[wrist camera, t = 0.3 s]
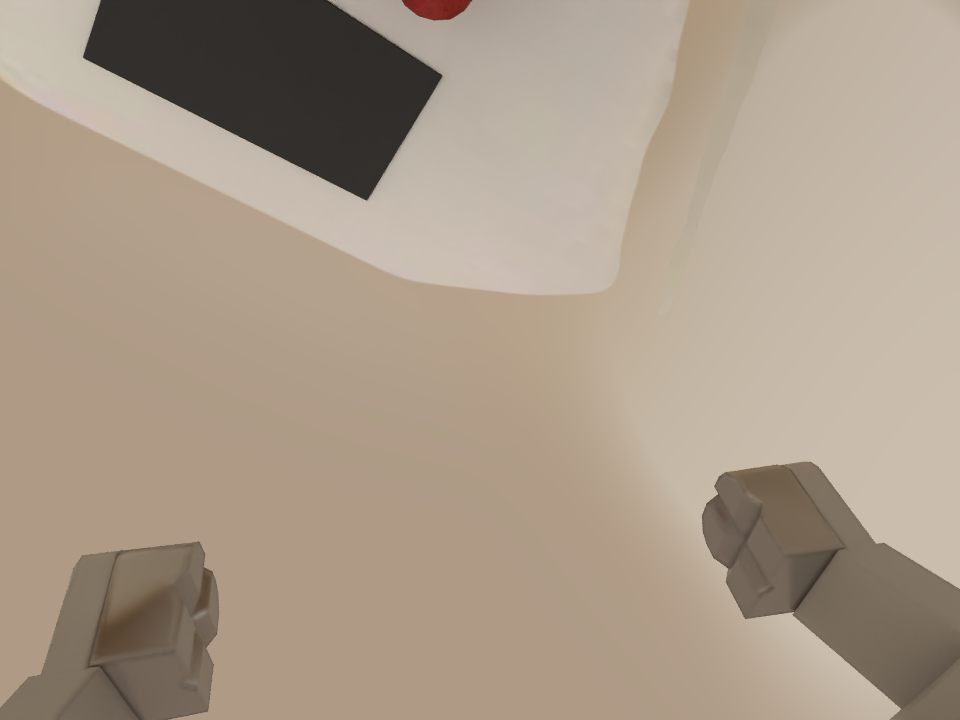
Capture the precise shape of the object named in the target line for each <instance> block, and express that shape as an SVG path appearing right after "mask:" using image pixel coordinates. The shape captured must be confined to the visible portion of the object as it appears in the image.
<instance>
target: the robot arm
mask: <svg viewBox="0 0 960 720" xmlns="http://www.w3.org/2000/svg"><path fill="white" fill-rule="evenodd" d="M714 487H715V488H716V490H717V492H718V495H717V496H715V497H714V498H713V499H712V500H710V501H709V502H708V503H707V504H706V507H705V510H704V512H703V515H702V524H703V534H704V537H705V540H706V544H707V546H708V548H709V550H710V552H711V554H712V556H713V558H714V559H716V560H717V561H719V562H720V563H721V564H723V565H724V566H726V567H727V568H728V572H727V578H726V583H727V585H728V587H729V589H730V591H731V593H732V595H733V597H734V598H735V600H736V602H737V604H738V606H739V608H740V610H741V612H742V614H743V615H744V617H745V619H748V618H755V617H762V616H769V615H776V614H783V613H789V612H794V613H793V616H794V617H796V618H797V619H798V620H799V621H800V622H801V623H803V624H804V625H805V626H806V627H807V628H808V629H810V630H811V631H812V632H813V633H814V634H815V635H816V636H818V637H819V638H820V639H821V640H822V641H823V642H825V643H826V644H827V645H828V646H829V647H830V648H831V649H833V650H834V651H835V652H836V653H837V654H839V655H840V656H841V657H842V658H843V659H844V660H845V661H847V662H848V663H849V664H850V665H851V666H852V667H854V668H855V669H856V670H857V671H858V672H859V673H860V674H862V675H863V676H864V677H865V678H866V679H867V680H869V681H870V682H871V683H872V684H873V685H874V686H875V687H877V688H878V689H879V690H880V691H882V693H884V694H885V695H886V696H887V697H888V698H889V699H891V700H892V701H893V702H894V703H895V704H896V705H898V706H899V707H900V708H901V710H900V711H899V712H898V713H897V714H896V715H894V716H893V717H892V718H891V719H890V720H960V589H959V588H957V587H955V586H954V585H952V584H950V583H949V582H947V581H945V580H944V579H942V578H940V577H939V576H937V575H936V574H934V573H932V572H931V571H929V570H927V569H926V568H924V567H923V566H921V565H919V564H918V563H916V562H914V561H913V560H911V559H910V558H908V557H906V556H904V555H903V554H901V553H900V552H898V551H896V550H895V549H893V548H891V547H890V546H888V545H887V544H885V543H881V544H876V543H875V542H874V541H873V539H872V538H871V537H870V535H869V534H868V532H867V531H866V530H865V528H864V527H863V526H862V525H861V523H860V522H859V520H858V519H857V518H856V517H855V515H854V514H853V513H852V511H851V510H850V508H849V507H848V506H847V504H846V503H845V502H844V500H843V499H842V498H841V496H840V495H839V494H838V492H837V491H836V490H835V489H834V487H833V486H832V484H831V483H830V482H829V480H828V479H827V478H826V476H825V475H824V473H823V472H822V471H821V469H819V467H818V466H816V465H815V464H813V463H812V462H799V463H792V464H785V465H772V466H765V467H759V468H751V469H745V470H738V471H731V472H726V473H724V474H722V475H721V476H719V477H718V480H717V482H716V484H715V486H714ZM204 559H205V553H204V551H203V548H202V546H201V544H200V542H192V543H183V544H175V545H166V546H158V547H149V548H142V549H132V550H120V551H113V552H105V553H98V554H90V555H83V556H81V558H80V560H79V561H78V562H77V564H76V566H75V567H74V568H73V572H72V575H71V578H70V582H69V585H68V588H67V591H66V595H65V598H64V601H63V605H62V608H61V611H60V614H59V618H58V621H57V624H56V627H55V631H54V634H53V637H52V640H51V644H50V647H49V650H48V653H47V657H46V660H45V663H44V667H43V670H42V673H41V675H38V676H32V677H28V678H27V680H26V681H25V682H24V683H23V684H22V685H21V686H20V687H19V688H18V689H17V690H16V691H15V692H14V694H13V695H12V696H11V697H10V698H9V699H8V700H7V701H6V702H5V703H4V704H3V706H2V707H1V708H0V720H168V719H172V718H178V717H183V716H188V715H193V714H198V713H202V712H207V711H208V707H209V699H210V691H211V682H212V674H213V665H214V664H213V662H212V660H211V658H210V656H209V653H208V651H207V649H206V647H207V646H208V645H209V643H210V642H211V641H212V640H213V638H214V637H215V636H216V635H217V629H218V618H219V602H218V601H219V600H218V590H217V584H216V580H215V577H214V575H213V572H212V571H210V570H208V569H206V568H204Z"/></svg>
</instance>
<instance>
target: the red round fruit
mask: <svg viewBox="0 0 960 720" xmlns="http://www.w3.org/2000/svg"><path fill="white" fill-rule="evenodd" d="M402 1H403V3H404V5H405V6H406V7H408V8H409V9H410V10H411V11H413V12H414V13H415V14H416V15H418V16H420V17H423V18H427V19H431V20H449V19H452V18H453V17H455V16H457V15H458V14H460V13H461V12H463V11H465V9H466V8H467V6H468V5H469V4H470V2H471V1H472V0H402Z"/></svg>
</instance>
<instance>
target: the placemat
mask: <svg viewBox="0 0 960 720" xmlns="http://www.w3.org/2000/svg"><path fill="white" fill-rule="evenodd" d="M83 58H84V59H86V60H88V61H90V62H92V63H94V64H96V65H98V66H100V67H102V68H104V69H106V70H108V71H110V72H112V73H114V74H116V75H118V76H120V77H122V78H124V79H126V80H128V81H130V82H132V83H134V84H136V85H138V86H140V87H142V88H144V89H146V90H148V91H150V92H152V93H154V94H156V95H158V96H160V97H162V98H164V99H166V100H168V101H170V102H172V103H174V104H176V105H178V106H180V107H182V108H184V109H186V110H188V111H190V112H192V113H194V114H196V115H198V116H200V117H202V118H204V119H206V120H208V121H210V122H212V123H214V124H216V125H218V126H220V127H222V128H224V129H225V130H227V131H229V132H231V133H233V134H235V135H237V136H239V137H241V138H243V139H245V140H247V141H249V142H251V143H253V144H255V145H257V146H259V147H261V148H263V149H265V150H267V151H269V152H271V153H273V154H275V155H277V156H279V157H281V158H283V159H285V160H287V161H289V162H291V163H293V164H295V165H297V166H299V167H301V168H303V169H305V170H307V171H309V172H311V173H313V174H315V175H317V176H319V177H321V178H323V179H325V180H327V181H329V182H331V183H333V184H335V185H337V186H339V187H341V188H343V189H345V190H347V191H349V192H351V193H353V194H355V195H357V196H359V197H361V198H363V199H365V200H368V198H369V196H370V195H371V193H372V192H373V190H374V188H375V187H376V185H377V183H378V182H379V180H380V178H381V177H382V175H383V173H384V172H385V170H386V168H387V167H388V165H389V163H390V162H391V160H392V159H393V157H394V155H395V154H396V152H397V150H398V149H399V147H400V145H401V144H402V142H403V140H404V139H405V137H406V135H407V134H408V132H409V131H410V129H411V127H412V126H413V124H414V122H415V121H416V119H417V117H418V116H419V114H420V112H421V111H422V109H423V107H424V106H425V104H426V103H427V101H428V99H429V98H430V96H431V94H432V93H433V91H434V89H435V88H436V86H437V84H438V83H439V81H440V79H441V78H442V75H440V74H439V73H437V72H436V71H434V70H433V69H431V68H429V67H428V66H426V65H425V64H423V63H422V62H420V61H419V60H417V59H416V58H414V57H413V56H411V55H409V54H408V53H406V52H405V51H403V50H402V49H400V48H399V47H397V46H396V45H394V44H393V43H391V42H389V41H388V40H386V39H385V38H383V37H382V36H380V35H379V34H377V33H376V32H374V31H373V30H371V29H369V28H368V27H366V26H365V25H363V24H362V23H360V22H359V21H357V20H356V19H354V18H353V17H351V16H349V15H348V14H346V13H345V12H343V11H342V10H340V9H339V8H337V7H336V6H334V5H333V4H331V3H329V2H328V1H326V0H101V2H100V6H99V9H98V12H97V15H96V18H95V21H94V24H93V28H92V31H91V34H90V37H89V40H88V43H87V47H86V50H85V53H84V56H83Z"/></svg>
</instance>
